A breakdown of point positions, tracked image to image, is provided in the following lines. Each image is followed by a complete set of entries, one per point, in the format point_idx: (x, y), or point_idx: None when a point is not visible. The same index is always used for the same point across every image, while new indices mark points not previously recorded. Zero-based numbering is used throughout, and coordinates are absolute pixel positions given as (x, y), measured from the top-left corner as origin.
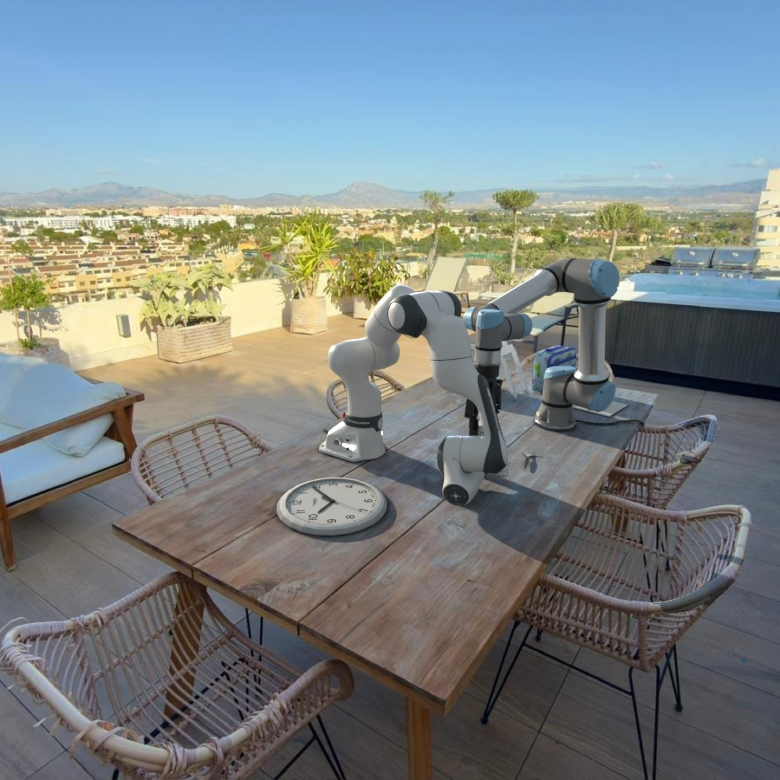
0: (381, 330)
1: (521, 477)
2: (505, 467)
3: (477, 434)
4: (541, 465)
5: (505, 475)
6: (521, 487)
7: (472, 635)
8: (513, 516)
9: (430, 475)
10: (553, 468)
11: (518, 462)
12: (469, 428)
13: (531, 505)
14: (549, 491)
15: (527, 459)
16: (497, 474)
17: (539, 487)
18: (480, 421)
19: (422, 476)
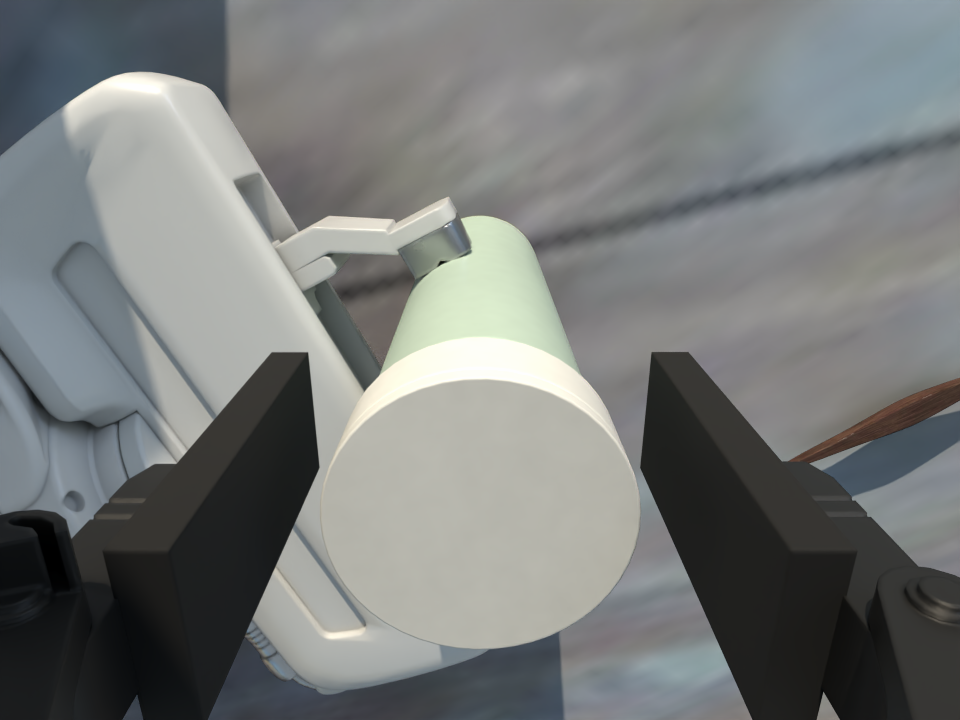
0: None
1: (654, 505)
2: (359, 686)
3: (294, 512)
4: (935, 486)
5: (318, 689)
6: None
7: None
8: (225, 712)
9: (97, 42)
10: (939, 556)
11: (874, 356)
12: (147, 479)
13: (394, 707)
14: (612, 686)
15: (939, 403)
16: (265, 664)
17: (614, 634)
18: (527, 450)
19: (19, 7)
